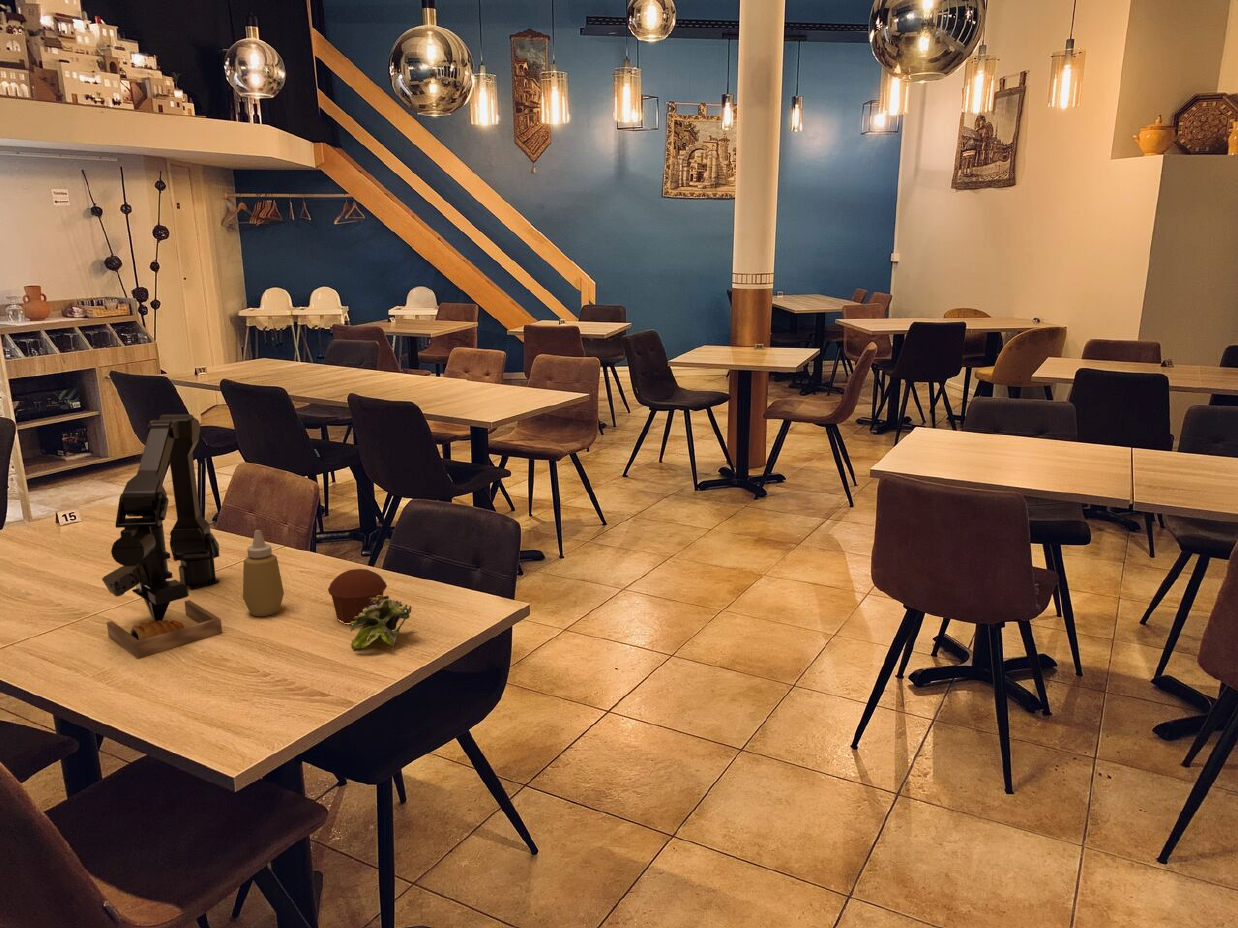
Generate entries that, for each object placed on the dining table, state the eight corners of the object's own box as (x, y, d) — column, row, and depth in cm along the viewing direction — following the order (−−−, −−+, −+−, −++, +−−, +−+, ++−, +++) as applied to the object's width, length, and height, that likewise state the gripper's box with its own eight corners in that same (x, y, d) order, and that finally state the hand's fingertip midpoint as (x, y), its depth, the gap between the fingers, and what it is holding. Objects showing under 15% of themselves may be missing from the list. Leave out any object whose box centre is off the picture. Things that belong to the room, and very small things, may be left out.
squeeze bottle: (293, 608, 192) (287, 527, 188) (264, 622, 185) (257, 538, 181) (265, 602, 195) (258, 522, 191) (235, 615, 188) (227, 533, 184)
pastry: (177, 626, 183) (175, 609, 182) (191, 636, 178) (189, 618, 177) (127, 640, 176) (125, 622, 175) (140, 651, 172) (138, 633, 171)
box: (190, 613, 189) (189, 599, 188) (222, 632, 179) (220, 618, 179) (108, 636, 177) (106, 622, 177) (137, 658, 168) (135, 643, 167)
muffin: (390, 605, 194) (388, 561, 192) (386, 626, 183) (384, 579, 181) (333, 608, 192) (330, 564, 190) (326, 629, 181) (322, 582, 179)
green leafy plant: (382, 661, 180) (407, 605, 183) (405, 671, 171) (431, 612, 174) (332, 641, 174) (360, 584, 177) (354, 651, 165) (382, 590, 168)
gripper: (87, 548, 177) (97, 622, 180) (123, 570, 165) (133, 649, 168) (146, 535, 185) (155, 606, 188) (185, 556, 173) (193, 631, 176)
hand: (158, 623), depth 180 cm, fingers closed
